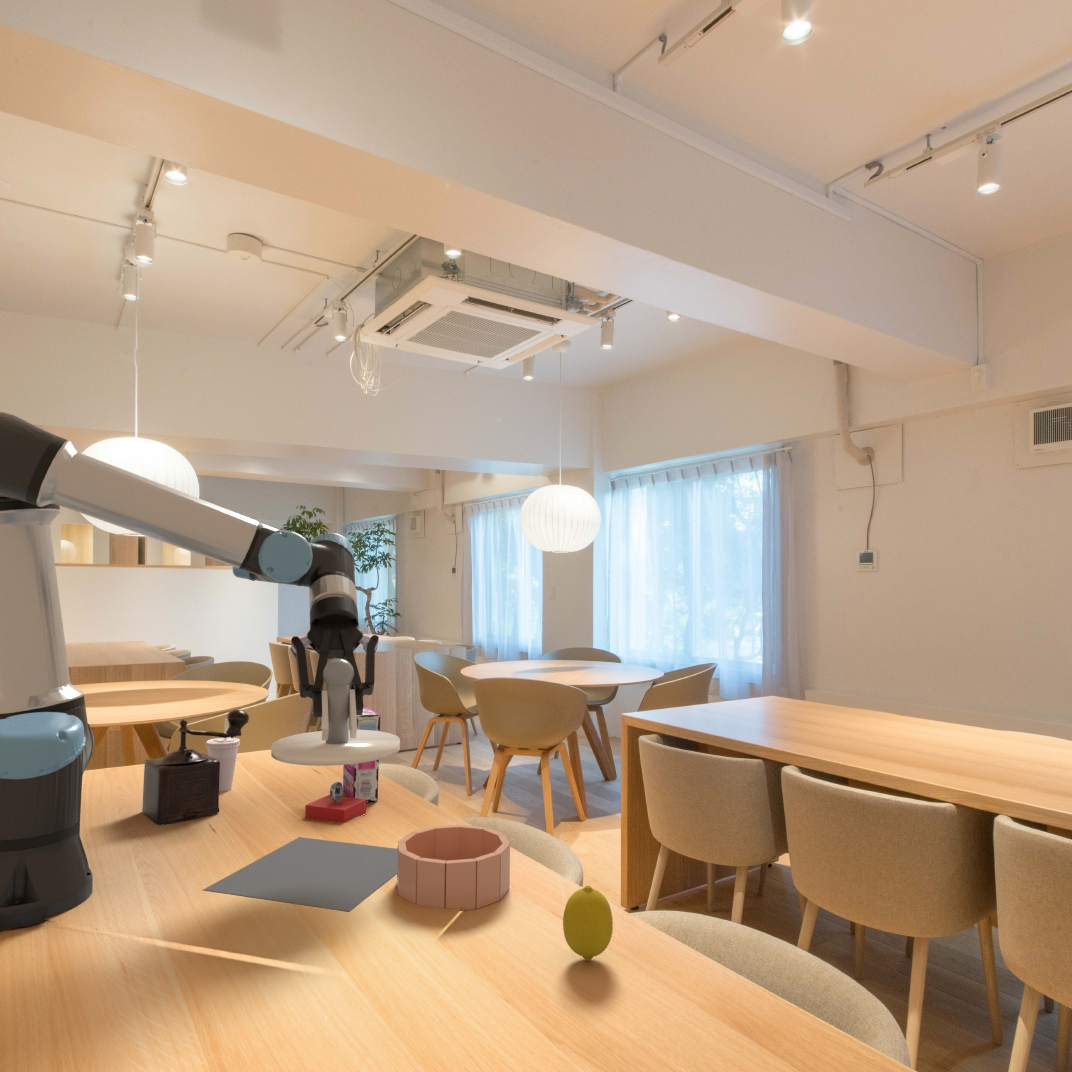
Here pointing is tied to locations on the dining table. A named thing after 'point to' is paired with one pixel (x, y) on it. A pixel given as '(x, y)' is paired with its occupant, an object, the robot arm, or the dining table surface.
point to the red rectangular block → (336, 806)
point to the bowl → (453, 866)
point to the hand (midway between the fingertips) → (339, 733)
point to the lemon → (587, 922)
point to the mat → (314, 874)
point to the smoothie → (224, 758)
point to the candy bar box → (363, 764)
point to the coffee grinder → (186, 778)
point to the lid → (336, 730)
